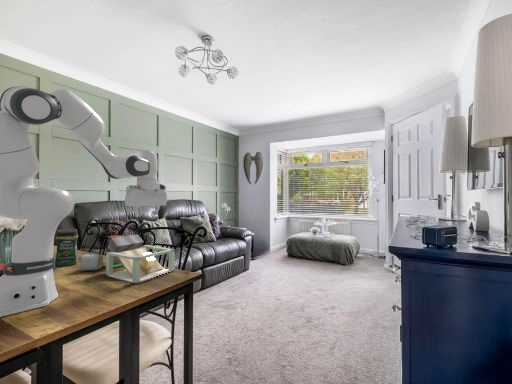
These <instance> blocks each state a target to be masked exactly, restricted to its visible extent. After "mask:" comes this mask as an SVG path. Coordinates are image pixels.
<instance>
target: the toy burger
mask: <svg viewBox="0 0 512 384" xmlns="http://www.w3.org/2000/svg"><path fill="white" fill-rule="evenodd" d="M122 236H124V235H121V234H120V235H119V234H118V235H117V234H115V235H109V236H107V245H108V244H109V242H110V239H111V238H115V237H122ZM106 252H111V250H110V249H109V248H108V246H107V247H106V248H105V250H104V253H106ZM103 267H105V268H106V263H103ZM120 267H124V266H123V264H122V263H121V262H120V260H119V259H118V258H117V257H116V256H113V269H114V268H120Z"/></svg>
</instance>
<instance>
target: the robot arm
mask: <svg viewBox="0 0 512 384" xmlns="http://www.w3.org/2000/svg"><path fill="white" fill-rule="evenodd" d="M54 120H56V121H58V122H60V123H61V124H62V125H63V126H64V127H65V129H67V130H68V131H70V133H72V134H73V135H74V136H75V137H76V138H77V139H78V141H79V143H80V144H81V145H82V147H83V148H84V149H85V150H86V151H87V152H88V153H90V155H91V156H93V158H94V159H95V160H96V161H97V162H98V163H99V164H100V165H101V167H102V169H103V170H104V172H105V173H106V175H107V176H108V177H109V178H111V179H114V180H120V179H127V178H128V179H129V178H136V185H133V184H130V185H128V186H127V187H126V189H125V196H124V205H125V206H126V207H132V210H133V212H134V216H135V217H136V218H137V217H141V212H139V210H138V209H139V207H154V208H155V209H154V211H152V215H153V216H158V215H159V211H160V209H161V206H166V205H167V204H168V198H167V191H166V190H167V186H166V185H165V184H163V183H161V182H158V175H157V174H158V170H159V169H158V166H159V165H158V157H157V154H156V152H155V151H152V150H150V149H140V150H139V151H137V152H134V153H132V154H128V155H127V154H126V155H116V154H113V153H112V152H111V151H110V150H109V148H108V147H107V146H106V145H105V144H104V143H103V141H101V137H103V135H104V132H105V129H106V125H105V122H104V120H103V119H102V117H101V116H100V115H99V114H98V113H97V112H96V111H95V110H94V109H93V108H92V107H91V106H90V105H89V104H88V103H86V101H84V100H83V99H82V98H81V97H80V96H78V95H77V94H76V93H74V92H73V91H71V90H69V89H67V88H59V89H56V90H54V91H52V92H51V93H48V92H45V91H43V90H39V89H37V88H33V87H30V86H25V85H19V86H12V87H11V86H10V87H9V88H6V89H5V90H4V91H3V92H2V94H1V95H0V217H4V218H8V219H11V220H12V219H13V220H26V222H25V224H24V228H23V229H22V230H21V231H20V232H17V234H15V235H14V236H13V238H12V239H11V260H10V262H8V263H7V264H6V263H0V271H3V274H2V275H1V276H0V318H2V317H5V316H10V315H15V314H18V313H22V312H26V311H30V310H34V309H39V308H41V307H42V308H43V307H47V306H49V305H50V303H51V302H52V301H54V300H56V299H57V298H59V293H58V291H57V287H56V281H55V274H54V272H55V268H56V265H55V256H54V244H55V243H54V242H55V236H56V233H57V229H58V227H59V225H60V223H61V222H62V221H63V220H64V219H65V218H66V217H67V216H69V215H70V214H71V212H72V211H73V209H74V205H75V204H74V203H75V201H74V197H73V195H72V193H70V192H69V191H68V190H64V189H61V188H56V187H36V186H35V184H34V176H36V175H37V174H38V173H39V172H40V170H41V164H40V162H39V159H38V156H37V154H36V152H35V149H34V146H33V144H32V141H31V139H30V137H29V127H30V125H34V126H38V125H39V126H40V125H44V124H46V123H50V122H51V121H54Z"/></svg>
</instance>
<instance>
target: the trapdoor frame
mask: <svg viewBox="0 0 512 384" xmlns="http://www.w3.org/2000/svg"><path fill="white" fill-rule="evenodd" d="M143 246H146V248H147V249H148V250H149V251H150V249H151V250H156V251H157V252H150V253H151V254H146V255H142V256H132V255H126V254H121V253H116V252H105V253H106V256H105V257H106V258H105V262H106V263H105V264H106V267H105V269H106V270H105V276H107V277H109V278H114V279H117V280H121V281H125V282H129V283H133V284H138V283H141V282H145V281H148V280H152V279H155V278H157V277H156V276H158V277H160V276H159V275H161V276H163V275H162V274H164V275H166V274H165V273H167V274H169V273H168V272H171V271H173V270H174V269H175V268H176V265H175V264H176V255H175V254H176V249H174V248H169V247H161V246H155V245H149V244H145V245H142V247H143ZM166 254H168V269H165V268H166V267H163V270H159V271H156V272H152V273H149V274H146V275H142V276H140V259H144V258H149V257H153V256H154V257H156V256H160V255H166ZM113 256H116V257H121V258H126V259H131V260H133V278H132V277H131V275H130V274H129V273H128V271H127V270H126V269H122V270H118V271H117V270H116V271H114V268H113ZM175 270H176V269H175ZM171 273H172V272H171ZM154 277H155V278H154ZM151 278H152V279H151Z"/></svg>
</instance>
